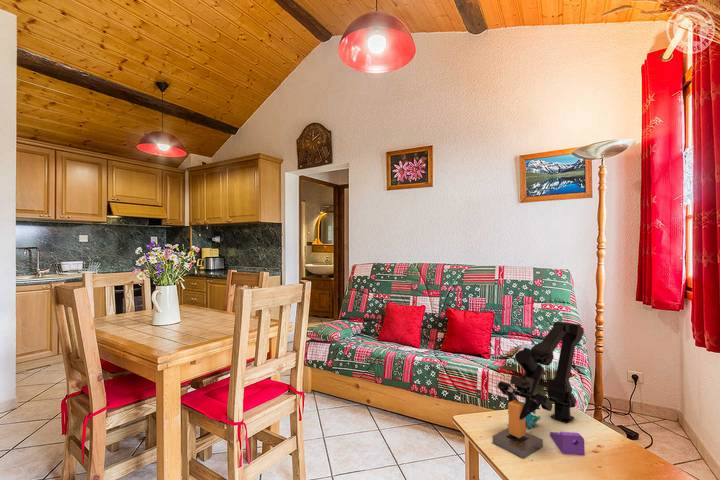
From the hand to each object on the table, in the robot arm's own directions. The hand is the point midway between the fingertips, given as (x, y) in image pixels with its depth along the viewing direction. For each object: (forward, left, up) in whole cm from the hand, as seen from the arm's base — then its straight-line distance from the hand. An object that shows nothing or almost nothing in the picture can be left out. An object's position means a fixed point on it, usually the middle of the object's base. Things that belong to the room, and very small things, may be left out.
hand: (514, 416), depth 130 cm
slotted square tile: (-1, 0, -10) cm, 10 cm away
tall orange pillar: (-1, 0, -7) cm, 7 cm away
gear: (-17, -6, -11) cm, 21 cm away
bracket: (-15, +10, -11) cm, 21 cm away
